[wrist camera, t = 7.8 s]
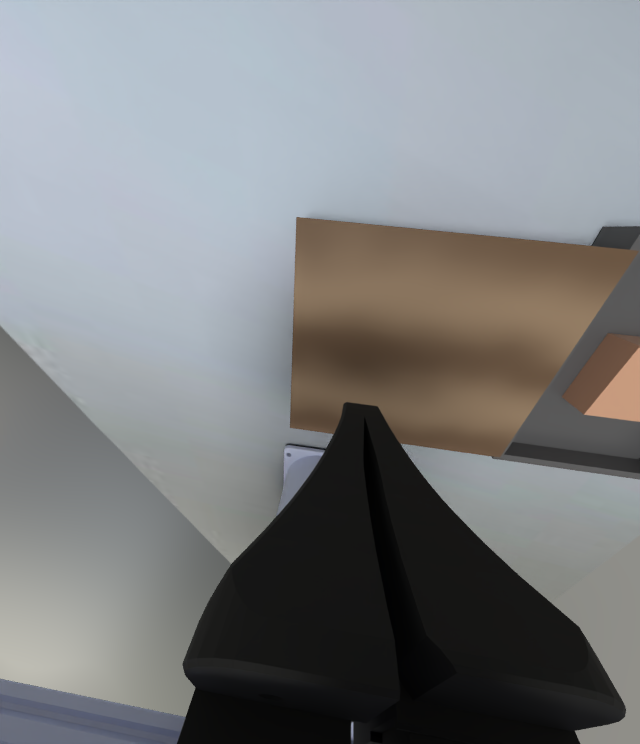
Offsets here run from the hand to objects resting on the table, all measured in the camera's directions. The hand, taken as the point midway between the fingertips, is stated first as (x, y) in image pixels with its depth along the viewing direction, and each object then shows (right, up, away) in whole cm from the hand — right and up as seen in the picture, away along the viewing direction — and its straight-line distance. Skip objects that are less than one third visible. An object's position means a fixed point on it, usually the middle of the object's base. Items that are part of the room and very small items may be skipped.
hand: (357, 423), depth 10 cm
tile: (+19, +1, +5) cm, 19 cm away
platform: (+5, +4, +8) cm, 10 cm away
